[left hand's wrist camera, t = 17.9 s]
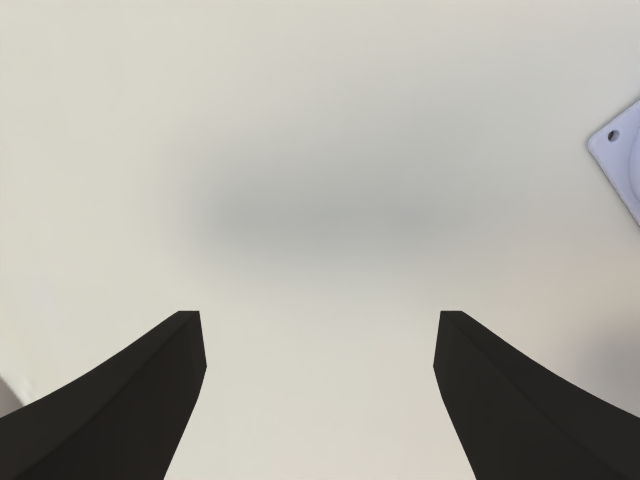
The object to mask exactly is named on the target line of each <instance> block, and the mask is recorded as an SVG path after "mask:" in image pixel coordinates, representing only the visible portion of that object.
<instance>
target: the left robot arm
mask: <svg viewBox="0 0 640 480" xmlns="http://www.w3.org/2000/svg"><path fill="white" fill-rule="evenodd" d="M611 131H613V137H612V138H611V139H610V140H608V135H609V133H610V132H611ZM588 147H589V150H590V151H591V153H592V154H593V156H594V158H595V159H596V161H597V162H598V164H599V165H600V167H601V168H602V170H603V171H604V173H605V174H606V176H607V177H608V179H609V180H610V182H611V183H612V185H613V186H614V188H615V189H616V191H617V192H618V194H619V195H620V197H621V198H622V200H623V202H624V203H625V205H626V206H627V208H628V209H629V211H630V212H631V214H632V215H633V217H634V218H635V220H636V221H637V223H638V224H639V226H640V99H639V100H638V101H637V102H636V103H634V104H633V105H632V106H630V107H629V108H628V109H626V110H625V111H624V112H623V113H621V114H620V115H619V116H617V117H616V118H615V119H614V120H612V121H611V122H610V123H608V124H607V125H606V126H604V127H603V128H602V129H601V130H599V131H598V132H597V133H595V134H594V135H593V136H592V137H591V138H590V140H589V143H588ZM206 368H207V364H206V357H205V349H204V342H203V335H202V328H201V320H200V313H199V311H178V312H176V313H174V314H173V315H171V316H170V317H168V318H167V319H166V320H164V321H163V322H161V323H160V324H159V325H157V326H156V327H154V328H153V329H152V330H150V331H149V332H147V333H146V334H145V335H143V336H142V337H140V338H139V339H138V340H136V341H135V342H133V343H132V344H130V345H129V346H128V347H126V348H125V349H123V350H122V351H120V352H119V353H117V354H116V355H114V356H112V357H111V358H109V359H108V360H106V361H105V362H103V363H102V364H100V365H99V366H97V367H96V368H94V369H92V370H91V371H89V372H88V373H86V374H84V375H83V376H81V377H79V378H78V379H76V380H74V381H72V382H71V383H69V384H67V385H65V386H63V387H62V388H60V389H58V390H56V391H54V392H52V393H51V394H49V395H47V396H45V397H43V398H41V399H39V400H37V401H35V402H33V403H31V404H29V405H27V406H24V407H22V408H20V409H18V410H16V411H14V412H12V413H10V414H8V415H6V416H4V417H1V418H0V480H164V477H165V475H166V472H167V470H168V467H169V465H170V463H171V460H172V458H173V456H174V453H175V451H176V449H177V446H178V444H179V442H180V439H181V437H182V435H183V433H184V430H185V428H186V426H187V423H188V421H189V418H190V416H191V414H192V411H193V409H194V407H195V404H196V402H197V399H198V396H199V393H200V390H201V386H202V383H203V379H204V375H205V372H206ZM433 368H434V372H435V375H436V379H437V383H438V386H439V390H440V393H441V396H442V399H443V402H444V404H445V407H446V409H447V411H448V414H449V416H450V418H451V421H452V423H453V426H454V428H455V430H456V433H457V435H458V437H459V439H460V442H461V444H462V446H463V449H464V451H465V453H466V456H467V458H468V460H469V463H470V465H471V467H472V470H473V472H474V475H475V477H476V480H640V418H639V417H637V416H635V415H632V414H630V413H628V412H626V411H624V410H622V409H620V408H617V407H615V406H613V405H611V404H609V403H607V402H605V401H603V400H601V399H599V398H597V397H596V396H594V395H592V394H590V393H588V392H586V391H584V390H583V389H581V388H579V387H577V386H575V385H573V384H572V383H570V382H568V381H566V380H565V379H563V378H561V377H559V376H558V375H556V374H554V373H553V372H551V371H550V370H548V369H546V368H545V367H543V366H542V365H540V364H538V363H537V362H535V361H534V360H532V359H531V358H529V357H527V356H526V355H524V354H523V353H521V352H520V351H519V350H517V349H516V348H514V347H513V346H511V345H510V344H508V343H507V342H505V341H504V340H503V339H501V338H500V337H498V336H497V335H496V334H494V333H493V332H491V331H490V330H489V329H487V328H486V327H484V326H483V325H482V324H480V323H479V322H477V321H476V320H475V319H473V318H472V317H470V316H469V315H467V314H466V313H464V312H462V311H441V313H440V320H439V328H438V335H437V342H436V349H435V357H434V364H433Z"/></svg>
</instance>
